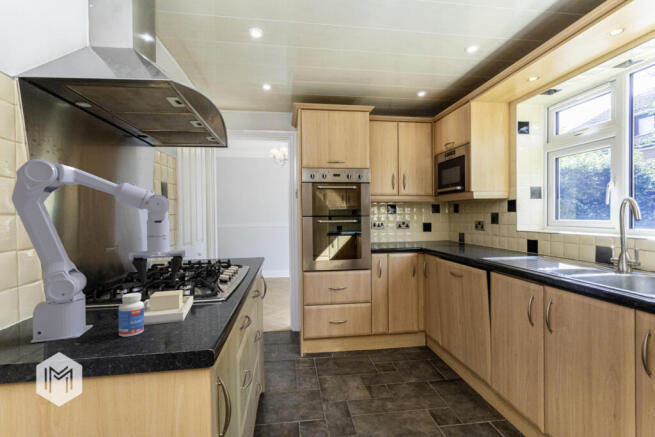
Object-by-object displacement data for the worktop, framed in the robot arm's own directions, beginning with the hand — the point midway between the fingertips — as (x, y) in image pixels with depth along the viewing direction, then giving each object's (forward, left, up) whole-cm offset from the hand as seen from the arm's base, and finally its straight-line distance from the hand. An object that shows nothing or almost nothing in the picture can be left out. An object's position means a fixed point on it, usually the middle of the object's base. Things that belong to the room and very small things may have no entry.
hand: (159, 282), depth 84 cm
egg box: (0, +9, -10) cm, 13 cm away
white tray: (0, +5, -10) cm, 11 cm away
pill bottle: (-4, -9, -11) cm, 15 cm away
